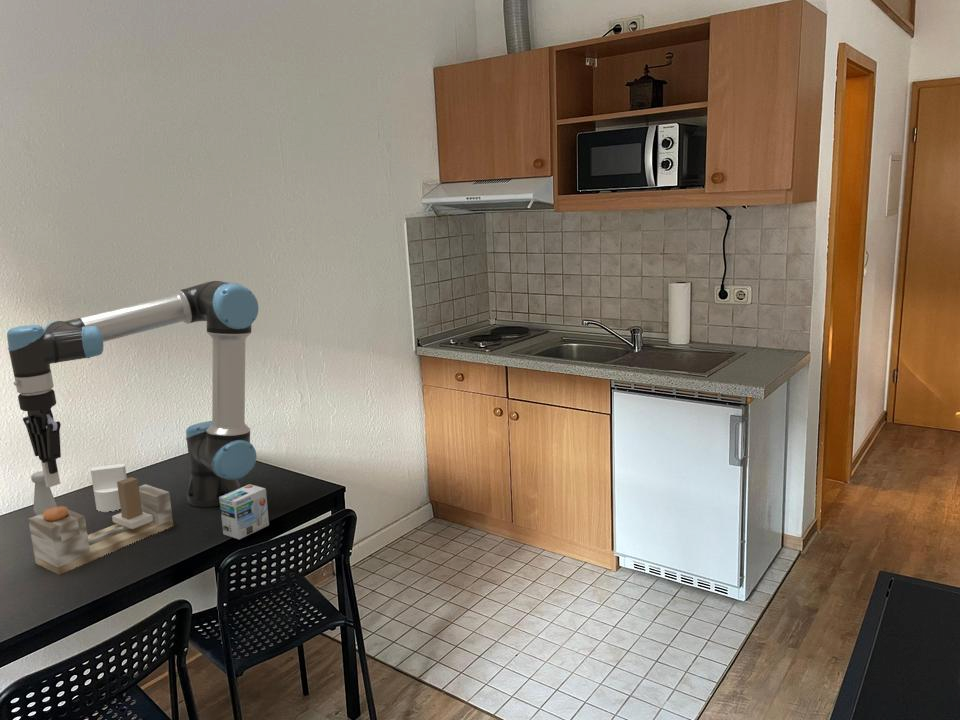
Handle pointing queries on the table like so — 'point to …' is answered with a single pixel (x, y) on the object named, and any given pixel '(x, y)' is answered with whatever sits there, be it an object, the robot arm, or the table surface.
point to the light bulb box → (244, 511)
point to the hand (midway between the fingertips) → (53, 484)
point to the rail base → (94, 534)
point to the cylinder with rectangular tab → (107, 486)
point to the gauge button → (55, 513)
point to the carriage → (130, 505)
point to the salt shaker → (42, 494)
